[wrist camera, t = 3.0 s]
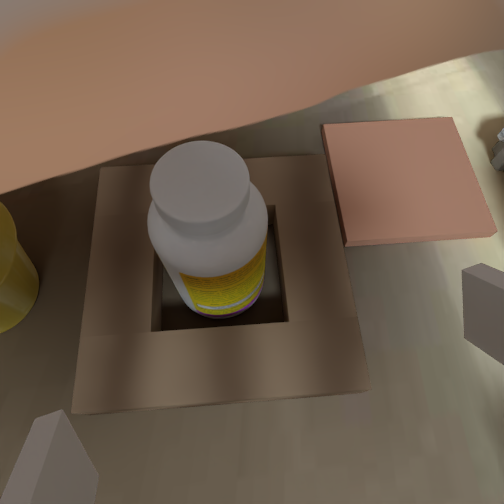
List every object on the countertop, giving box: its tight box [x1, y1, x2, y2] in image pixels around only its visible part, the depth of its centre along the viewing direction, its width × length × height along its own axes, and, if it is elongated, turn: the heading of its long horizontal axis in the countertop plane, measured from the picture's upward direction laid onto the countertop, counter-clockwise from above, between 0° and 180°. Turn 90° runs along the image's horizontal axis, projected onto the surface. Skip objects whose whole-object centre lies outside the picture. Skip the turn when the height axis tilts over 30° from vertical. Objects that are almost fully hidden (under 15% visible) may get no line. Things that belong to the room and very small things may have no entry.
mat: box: [322, 117, 497, 247], centre depth 32 cm, size 12×12×1 cm
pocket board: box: [71, 154, 372, 415], centre depth 27 cm, size 18×18×3 cm
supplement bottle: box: [147, 141, 268, 319], centre depth 23 cm, size 7×7×13 cm
